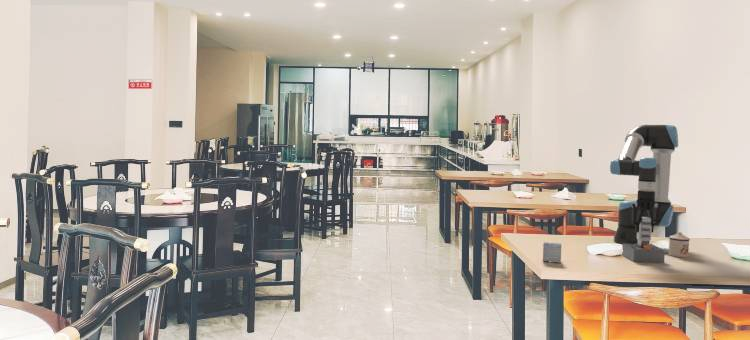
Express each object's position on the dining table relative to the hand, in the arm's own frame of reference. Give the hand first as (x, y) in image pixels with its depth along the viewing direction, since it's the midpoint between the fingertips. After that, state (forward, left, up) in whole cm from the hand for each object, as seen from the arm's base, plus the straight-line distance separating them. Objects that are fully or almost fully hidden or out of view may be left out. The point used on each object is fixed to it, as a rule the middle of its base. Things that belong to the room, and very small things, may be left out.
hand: (643, 239), depth 279 cm
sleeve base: (0, 0, -10) cm, 10 cm away
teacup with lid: (-12, +23, -10) cm, 28 cm away
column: (0, 0, -10) cm, 10 cm away
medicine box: (+12, -46, -10) cm, 49 cm away
